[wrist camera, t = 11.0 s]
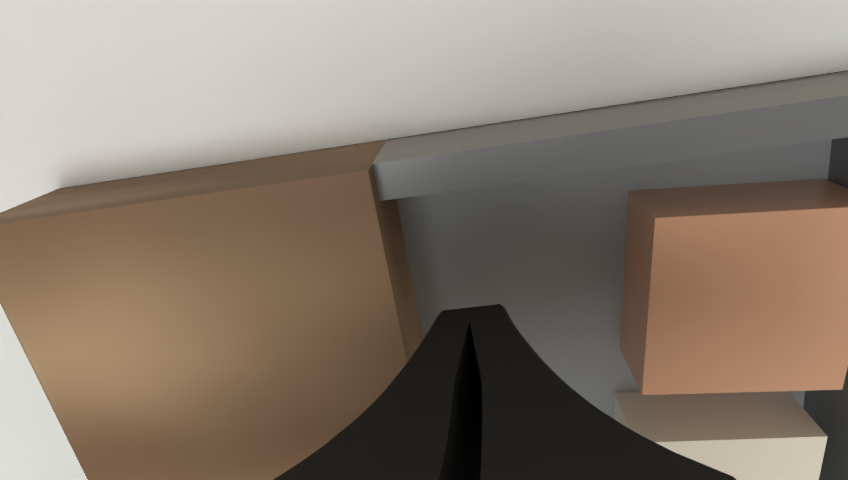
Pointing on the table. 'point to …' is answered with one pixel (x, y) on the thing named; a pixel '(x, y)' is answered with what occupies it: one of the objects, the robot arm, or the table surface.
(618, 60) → the table surface
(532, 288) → the bin
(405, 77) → the table surface
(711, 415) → the cream tile
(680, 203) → the terracotta tile
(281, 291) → the walnut board
